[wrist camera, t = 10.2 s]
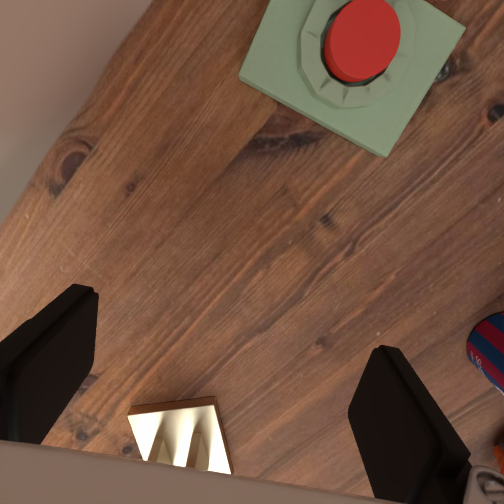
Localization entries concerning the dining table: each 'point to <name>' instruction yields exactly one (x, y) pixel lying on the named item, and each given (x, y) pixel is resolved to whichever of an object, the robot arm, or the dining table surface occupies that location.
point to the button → (362, 40)
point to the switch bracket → (182, 434)
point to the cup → (489, 349)
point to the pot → (499, 457)
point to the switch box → (342, 92)
